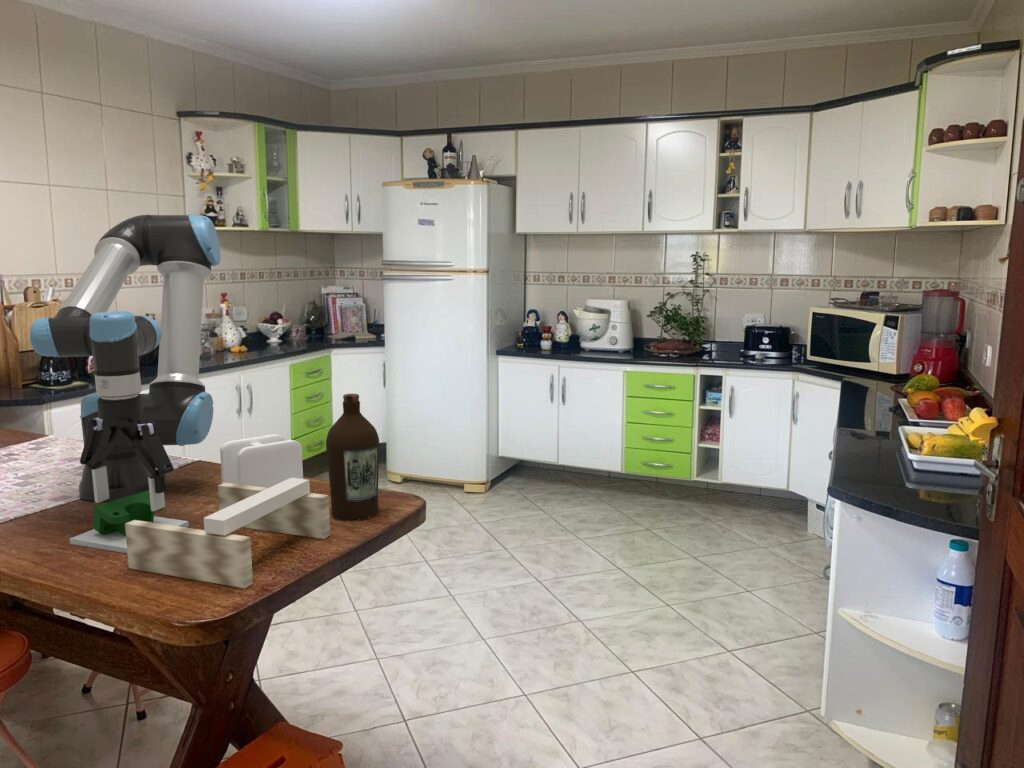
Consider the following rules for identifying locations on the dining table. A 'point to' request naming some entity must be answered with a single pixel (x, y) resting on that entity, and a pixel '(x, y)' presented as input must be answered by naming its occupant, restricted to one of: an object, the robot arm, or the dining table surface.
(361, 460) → the olive oil
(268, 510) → the strap bar
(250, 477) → the cable organizer
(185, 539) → the stand
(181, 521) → the grey pad
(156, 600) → the dining table surface
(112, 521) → the clamp
